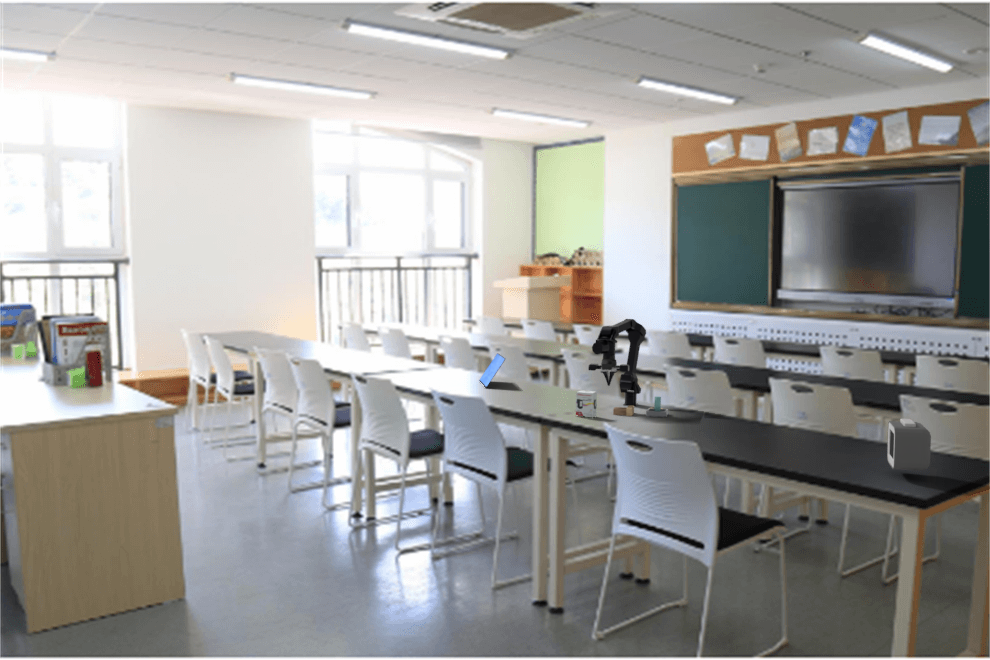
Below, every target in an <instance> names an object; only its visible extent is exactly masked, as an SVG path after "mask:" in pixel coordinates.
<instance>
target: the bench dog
mask: <svg viewBox="0 0 990 660" xmlns="http://www.w3.org/2000/svg"><path fill="white" fill-rule="evenodd" d="M634 414H635V406H627V407H626V415H625V416H627V417H632V416H633V415H634Z"/></svg>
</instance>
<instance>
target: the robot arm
mask: <svg viewBox="0 0 990 660" xmlns="http://www.w3.org/2000/svg"><path fill="white" fill-rule="evenodd" d="M623 332H626V333H627V338H628V341H629V348H628V354H627V359H626V364H624V363H623V364H620V365H617V359H616V344H617V343H618V341H617V339H616V338H618V337H619V335H620V333H623ZM646 335H647V330H646V328H645V327H644V326H643V324H641V323H639V322H637V320H636V319H633V318H625V319H624V320H622V321H619V322H617V323H615V324H613V325H603V326H602V327H601V329H600V331H599V334H598V337H597V338H596V339H595V342H593V345H592V347H591V351H592V353H594V354H595V355H602V360H601V363H600V364H601V365H600V364H599V363H590V364H589V365H588V371H596V370H600V373H601V374H603V376H604V378H605V381H606V384H607V386H608V387H609V386H611V383H612V381H613V377H614V376H615V374H616V373H618V371H619V372H624V373H621V374H620V378H619V384H618V385H619V388H620V393H622V394H623V393H624V403H623V406H624V407H625V406H627V407H628V406H634V407H638V405H639V404H638V403H637V398H638V397H637V395H638V394H641V391H642V388H641V386H640V385H639V383H638V382H639V379H638V376H637V374H636V373H637V366H638V362H639V360H638V359H639V355H640V354H639V353H640V347H641V345H642V343H643V342H645V338H646Z"/></svg>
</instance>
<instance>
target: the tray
mask: <svg viewBox="0 0 990 660" xmlns="http://www.w3.org/2000/svg"><path fill="white" fill-rule="evenodd" d="M668 415H669V409H668V408H663V409H661V410H660V411H654V407H648V409H646V410H645V416H646V418H647V417H648V418H665V419H666V418H667V417H668Z"/></svg>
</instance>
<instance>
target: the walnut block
mask: <svg viewBox="0 0 990 660" xmlns="http://www.w3.org/2000/svg"><path fill="white" fill-rule="evenodd" d="M626 408H627V407H625V406H624V407H621V406H619V407H618V406H615V407H613V409H612V413H613V414H612V415H613V416H614V415H615V416H626Z"/></svg>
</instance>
